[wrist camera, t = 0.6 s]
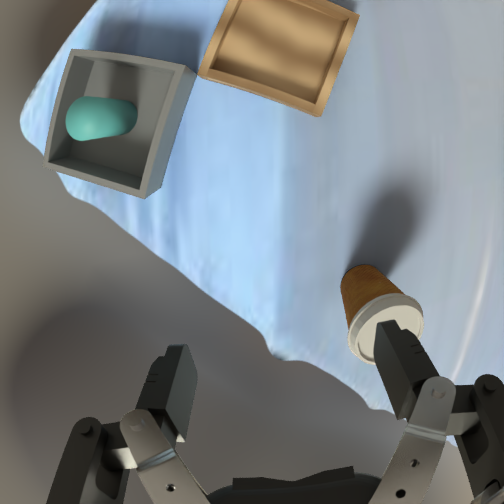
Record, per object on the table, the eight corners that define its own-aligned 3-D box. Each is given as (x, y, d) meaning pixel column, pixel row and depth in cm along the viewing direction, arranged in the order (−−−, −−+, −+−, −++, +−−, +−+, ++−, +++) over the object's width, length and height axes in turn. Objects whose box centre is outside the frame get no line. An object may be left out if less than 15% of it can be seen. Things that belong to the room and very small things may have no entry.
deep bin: (95, 56, 28) (71, 48, 23) (197, 74, 30) (185, 65, 25) (68, 159, 34) (42, 167, 29) (160, 187, 36) (144, 199, 30)
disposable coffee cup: (318, 303, 42) (335, 361, 31) (346, 244, 38) (377, 291, 27) (372, 317, 43) (398, 371, 32) (402, 264, 39) (441, 311, 28)
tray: (243, -16, 25) (241, -26, 22) (352, 22, 27) (360, 15, 24) (201, 78, 30) (197, 74, 28) (315, 117, 32) (321, 116, 29)
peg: (111, 97, 30) (71, 93, 22) (142, 103, 31) (107, 99, 22) (102, 130, 32) (61, 136, 24) (131, 138, 32) (95, 145, 24)
